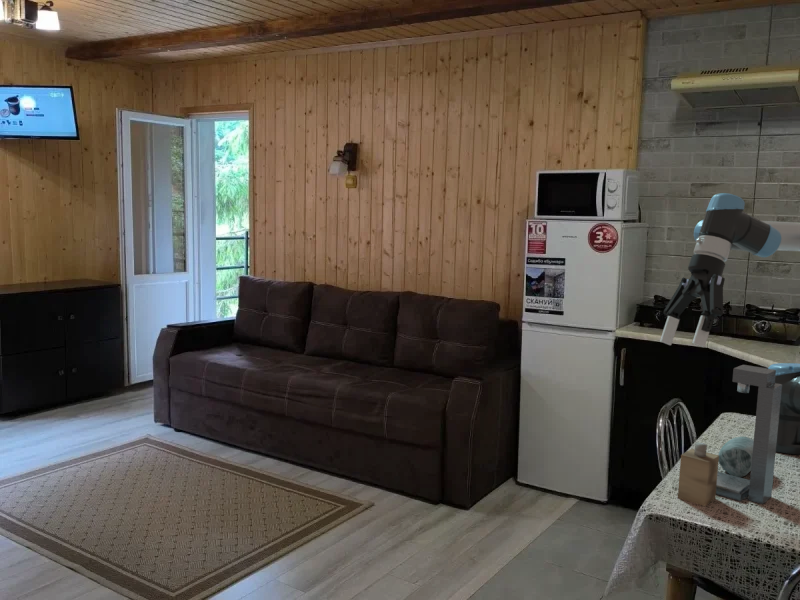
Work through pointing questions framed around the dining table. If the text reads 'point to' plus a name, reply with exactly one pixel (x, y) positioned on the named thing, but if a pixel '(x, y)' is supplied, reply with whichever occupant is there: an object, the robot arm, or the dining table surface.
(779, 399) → the press
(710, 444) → the dining table surface
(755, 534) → the dining table surface
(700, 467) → the brown bottle
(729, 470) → the blue grey streaked ovoid
